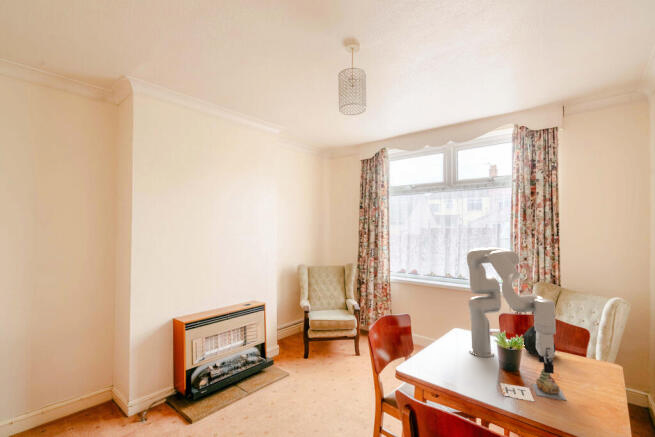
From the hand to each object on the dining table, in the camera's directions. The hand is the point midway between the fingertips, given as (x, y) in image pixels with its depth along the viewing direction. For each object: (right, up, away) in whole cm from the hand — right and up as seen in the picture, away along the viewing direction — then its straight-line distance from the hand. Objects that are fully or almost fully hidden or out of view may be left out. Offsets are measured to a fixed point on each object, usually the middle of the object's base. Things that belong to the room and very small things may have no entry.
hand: (545, 367), depth 129 cm
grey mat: (0, -10, -1) cm, 10 cm away
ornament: (0, -10, -1) cm, 10 cm away
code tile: (-13, -11, 0) cm, 17 cm away
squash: (+23, -11, +37) cm, 45 cm away
